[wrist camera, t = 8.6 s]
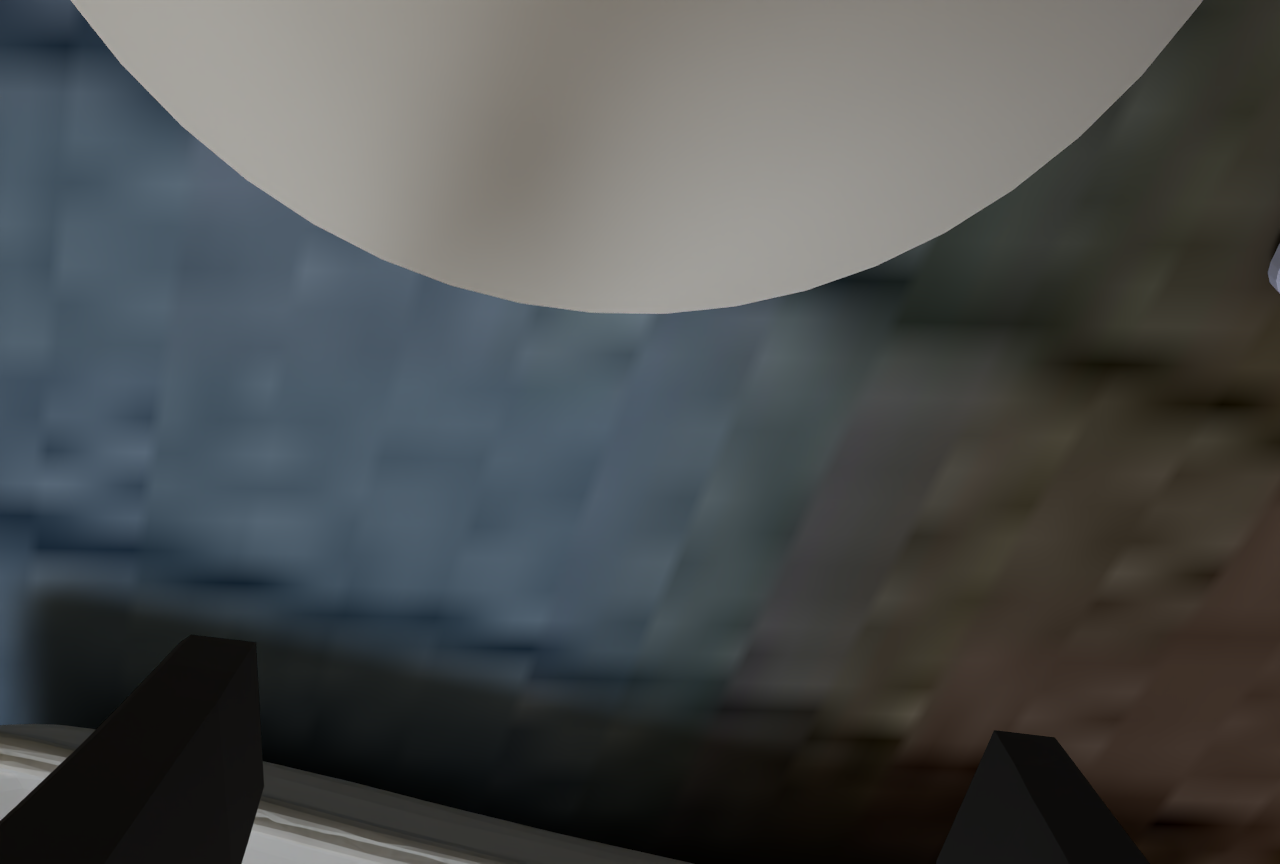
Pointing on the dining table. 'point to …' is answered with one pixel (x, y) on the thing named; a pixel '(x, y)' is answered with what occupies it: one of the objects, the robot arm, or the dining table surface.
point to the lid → (636, 127)
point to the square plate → (335, 817)
